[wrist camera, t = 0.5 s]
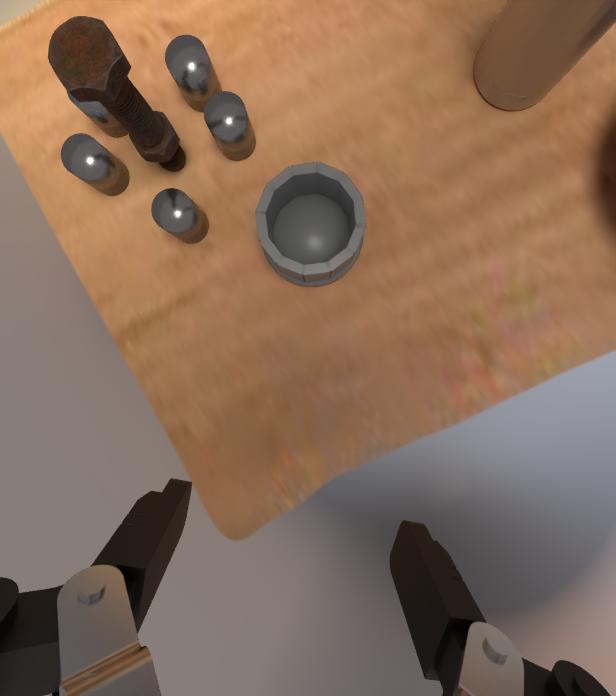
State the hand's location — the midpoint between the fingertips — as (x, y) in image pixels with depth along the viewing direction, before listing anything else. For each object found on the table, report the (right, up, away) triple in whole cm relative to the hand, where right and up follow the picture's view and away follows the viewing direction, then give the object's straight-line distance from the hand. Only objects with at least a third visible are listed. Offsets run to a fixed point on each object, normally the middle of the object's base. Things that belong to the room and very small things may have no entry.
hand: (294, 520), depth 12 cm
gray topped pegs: (-16, +31, +27) cm, 44 cm away
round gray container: (+1, +20, +27) cm, 33 cm away
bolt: (-16, +29, +27) cm, 43 cm away
